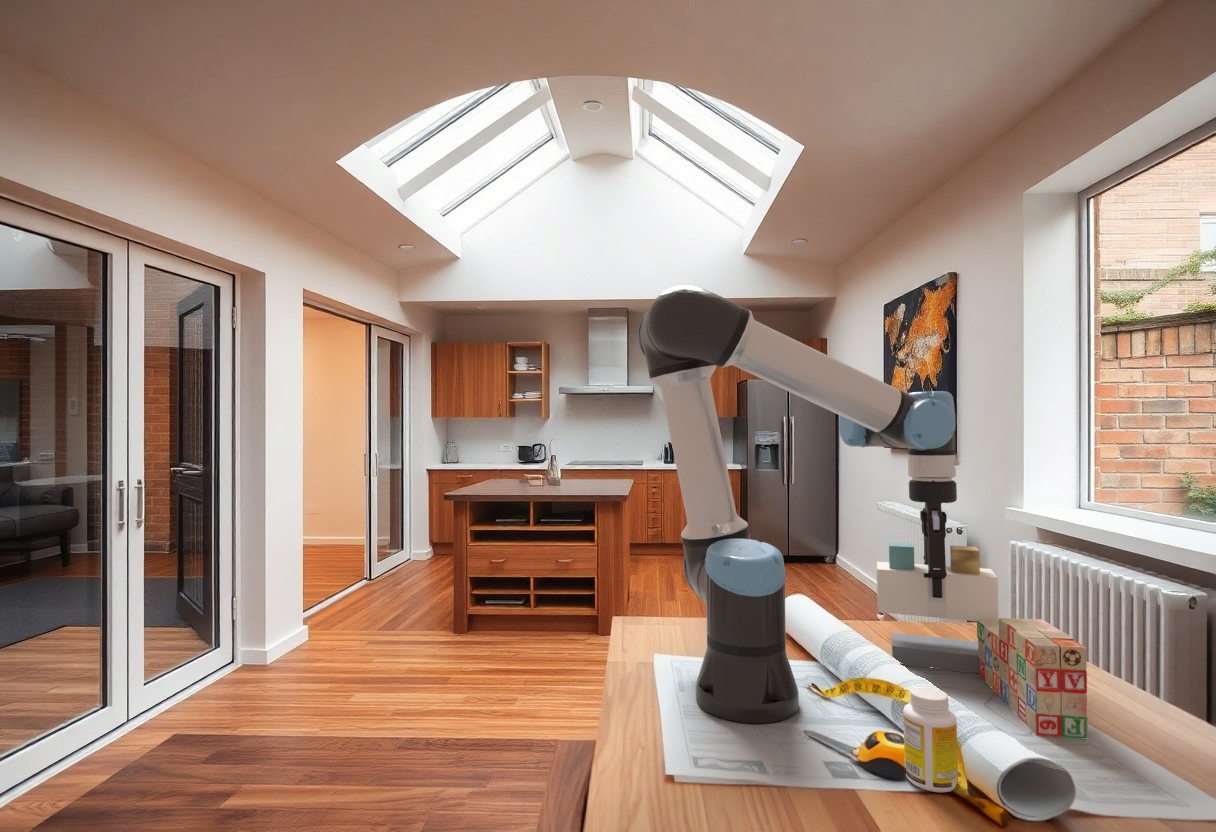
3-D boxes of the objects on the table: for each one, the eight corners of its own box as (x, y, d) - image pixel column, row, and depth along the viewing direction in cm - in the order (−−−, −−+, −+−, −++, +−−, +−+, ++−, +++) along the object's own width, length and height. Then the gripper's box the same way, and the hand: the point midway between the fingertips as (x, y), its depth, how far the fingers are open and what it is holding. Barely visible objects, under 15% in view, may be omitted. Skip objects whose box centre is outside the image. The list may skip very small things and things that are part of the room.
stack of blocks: (977, 675, 107) (976, 601, 107) (1019, 678, 105) (1017, 602, 106) (1036, 736, 86) (1034, 643, 86) (1089, 740, 84) (1087, 646, 85)
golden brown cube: (953, 572, 110) (952, 549, 111) (950, 567, 114) (950, 545, 114) (979, 574, 109) (979, 550, 109) (976, 569, 113) (975, 546, 113)
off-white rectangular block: (877, 611, 114) (876, 569, 114) (877, 601, 120) (877, 561, 120) (998, 623, 106) (997, 577, 107) (991, 611, 113) (990, 568, 113)
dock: (892, 663, 112) (892, 646, 112) (891, 648, 119) (891, 632, 119) (985, 674, 107) (984, 656, 107) (978, 658, 114) (978, 641, 114)
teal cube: (889, 568, 114) (889, 545, 114) (889, 563, 118) (888, 542, 118) (914, 570, 113) (913, 547, 113) (913, 565, 116) (913, 543, 117)
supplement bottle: (961, 778, 75) (959, 690, 76) (954, 800, 71) (952, 707, 71) (909, 764, 79) (908, 679, 79) (899, 784, 74) (898, 695, 74)
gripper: (962, 484, 103) (966, 628, 103) (950, 475, 121) (953, 597, 121) (911, 483, 106) (914, 623, 105) (906, 474, 124) (909, 594, 124)
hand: (935, 609), depth 113 cm, fingers closed on off-white rectangular block, 7 cm apart
